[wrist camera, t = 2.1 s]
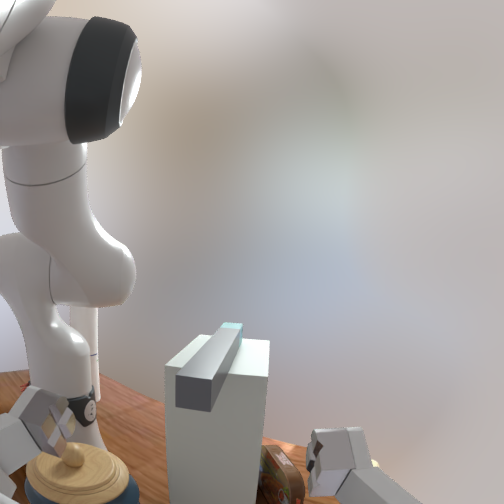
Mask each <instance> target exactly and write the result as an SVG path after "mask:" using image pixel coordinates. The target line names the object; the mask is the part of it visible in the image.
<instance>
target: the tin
mask: <svg viewBox="0 0 504 504" xmlns="http://www.w3.org/2000/svg"><path fill="white" fill-rule="evenodd" d="M258 485H259V487H260V489H261V491H262V492H263V494H264V496H265V498H266V499H267V501H268V503H269V504H303V501H304V497H305V486H304V481H303V478H302V476H301V474H300V472H299V471H298V469H297V468H296V467H295V465H294V464H293V463H292V462H291V461H290V459H289V458H288V457H287V456H286V454H285V453H284V452H283V451H282V449H281V448H280V447H279V446H277V445H262V447H261V457H260V466H259V476H258Z"/></svg>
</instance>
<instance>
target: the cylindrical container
mask: <svg viewBox="0 0 504 504" xmlns="http://www.w3.org/2000/svg"><path fill="white" fill-rule="evenodd" d="M97 317H98V308H86V307H75V306H70V327H72V328H74V329H75V330H77V331H78V332H79V333H80V334H81V335H82V336H83V337H84V338H85V339H86V341H87V343H88V345H89V348H90V362H91V380H92V385H93V386H94V390H95V399H96V402H98V401H99V400H100V386H99V368H98V330H97V329H98V318H97Z"/></svg>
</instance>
